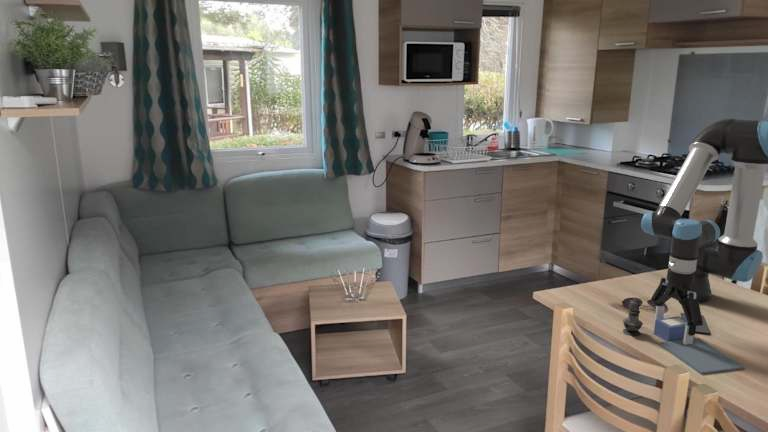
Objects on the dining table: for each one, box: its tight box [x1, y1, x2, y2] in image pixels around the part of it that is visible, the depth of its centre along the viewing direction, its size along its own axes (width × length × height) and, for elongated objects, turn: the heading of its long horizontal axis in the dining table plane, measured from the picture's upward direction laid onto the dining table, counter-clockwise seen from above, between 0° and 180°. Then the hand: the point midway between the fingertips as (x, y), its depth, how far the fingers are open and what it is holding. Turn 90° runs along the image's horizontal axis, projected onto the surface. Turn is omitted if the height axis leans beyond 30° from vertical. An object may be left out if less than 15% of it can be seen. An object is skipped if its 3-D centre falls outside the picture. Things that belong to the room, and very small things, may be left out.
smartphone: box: [680, 312, 711, 336], centre depth 192 cm, size 7×1×15 cm
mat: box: [658, 337, 745, 375], centre depth 171 cm, size 14×18×1 cm
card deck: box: [653, 316, 688, 342], centre depth 183 cm, size 9×6×5 cm, turn 107°
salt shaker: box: [622, 297, 644, 337], centre depth 185 cm, size 6×6×12 cm
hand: (672, 334), depth 183 cm, fingers open, 13 cm apart
